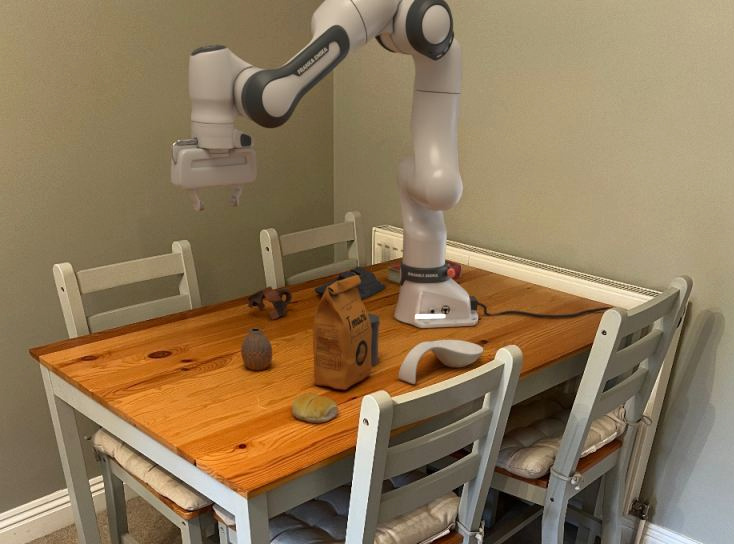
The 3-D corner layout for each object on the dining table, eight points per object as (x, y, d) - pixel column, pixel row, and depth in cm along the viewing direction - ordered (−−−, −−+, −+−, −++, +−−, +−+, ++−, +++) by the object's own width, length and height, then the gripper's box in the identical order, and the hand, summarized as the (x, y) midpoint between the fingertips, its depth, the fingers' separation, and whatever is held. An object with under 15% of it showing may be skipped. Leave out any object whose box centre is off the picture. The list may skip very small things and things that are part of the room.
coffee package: (378, 378, 163) (381, 277, 151) (344, 396, 155) (344, 291, 143) (342, 367, 168) (342, 268, 156) (307, 384, 160) (304, 281, 148)
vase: (276, 362, 170) (274, 325, 165) (269, 373, 164) (267, 335, 160) (246, 360, 171) (243, 323, 166) (239, 372, 165) (236, 333, 160)
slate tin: (378, 355, 175) (379, 313, 169) (378, 367, 168) (379, 323, 163) (347, 355, 175) (347, 312, 169) (346, 367, 168) (346, 323, 163)
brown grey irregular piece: (264, 324, 193) (249, 295, 191) (254, 330, 202) (239, 302, 199) (302, 305, 197) (288, 276, 195) (291, 312, 206) (277, 284, 203)
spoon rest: (451, 349, 179) (454, 320, 175) (491, 362, 172) (495, 332, 168) (386, 376, 164) (387, 345, 160) (427, 391, 158) (429, 359, 154)
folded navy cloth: (305, 296, 213) (305, 279, 210) (346, 278, 229) (346, 263, 226) (351, 305, 207) (351, 288, 204) (389, 286, 223) (390, 270, 220)
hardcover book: (461, 277, 232) (462, 263, 230) (412, 289, 221) (413, 274, 219) (434, 269, 240) (435, 255, 238) (386, 280, 228) (386, 266, 226)
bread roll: (307, 402, 152) (307, 384, 150) (343, 413, 148) (343, 394, 146) (282, 416, 146) (281, 397, 144) (319, 428, 142) (319, 409, 140)
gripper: (180, 141, 145) (185, 216, 153) (260, 137, 158) (261, 206, 166) (161, 137, 149) (167, 210, 156) (242, 133, 162) (243, 200, 169)
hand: (216, 208), depth 161 cm, fingers open, 8 cm apart
